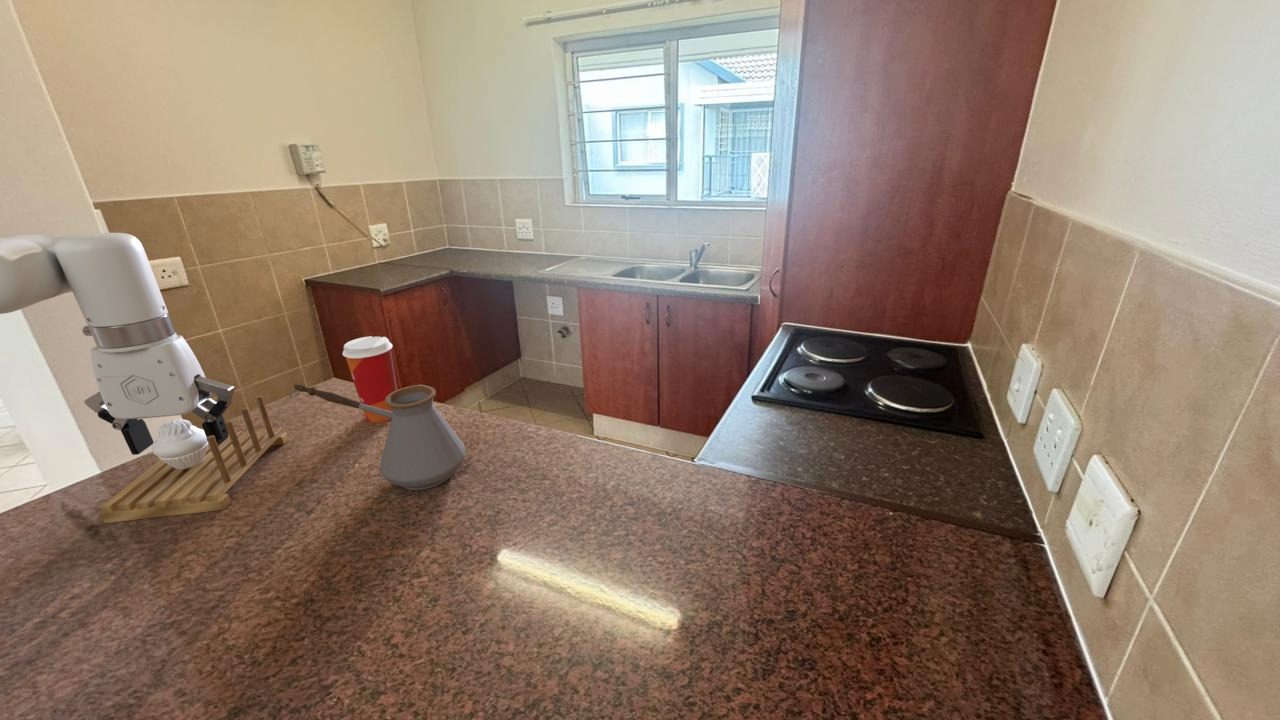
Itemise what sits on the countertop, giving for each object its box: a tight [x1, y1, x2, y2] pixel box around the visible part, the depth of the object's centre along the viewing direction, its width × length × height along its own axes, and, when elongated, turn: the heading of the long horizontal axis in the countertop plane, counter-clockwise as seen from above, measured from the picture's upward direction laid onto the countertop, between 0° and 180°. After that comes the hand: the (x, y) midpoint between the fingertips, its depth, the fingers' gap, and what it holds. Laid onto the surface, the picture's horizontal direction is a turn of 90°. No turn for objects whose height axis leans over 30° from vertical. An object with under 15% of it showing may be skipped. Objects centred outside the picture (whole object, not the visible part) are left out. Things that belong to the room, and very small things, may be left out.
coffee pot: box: [289, 383, 467, 491], centre depth 70 cm, size 21×12×15 cm, turn 92°
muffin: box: [151, 419, 209, 469], centre depth 71 cm, size 6×6×7 cm
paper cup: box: [341, 335, 398, 424], centre depth 87 cm, size 8×8×14 cm
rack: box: [99, 395, 289, 524], centre depth 72 cm, size 14×18×10 cm
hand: (182, 445), depth 71 cm, fingers open, 9 cm apart
